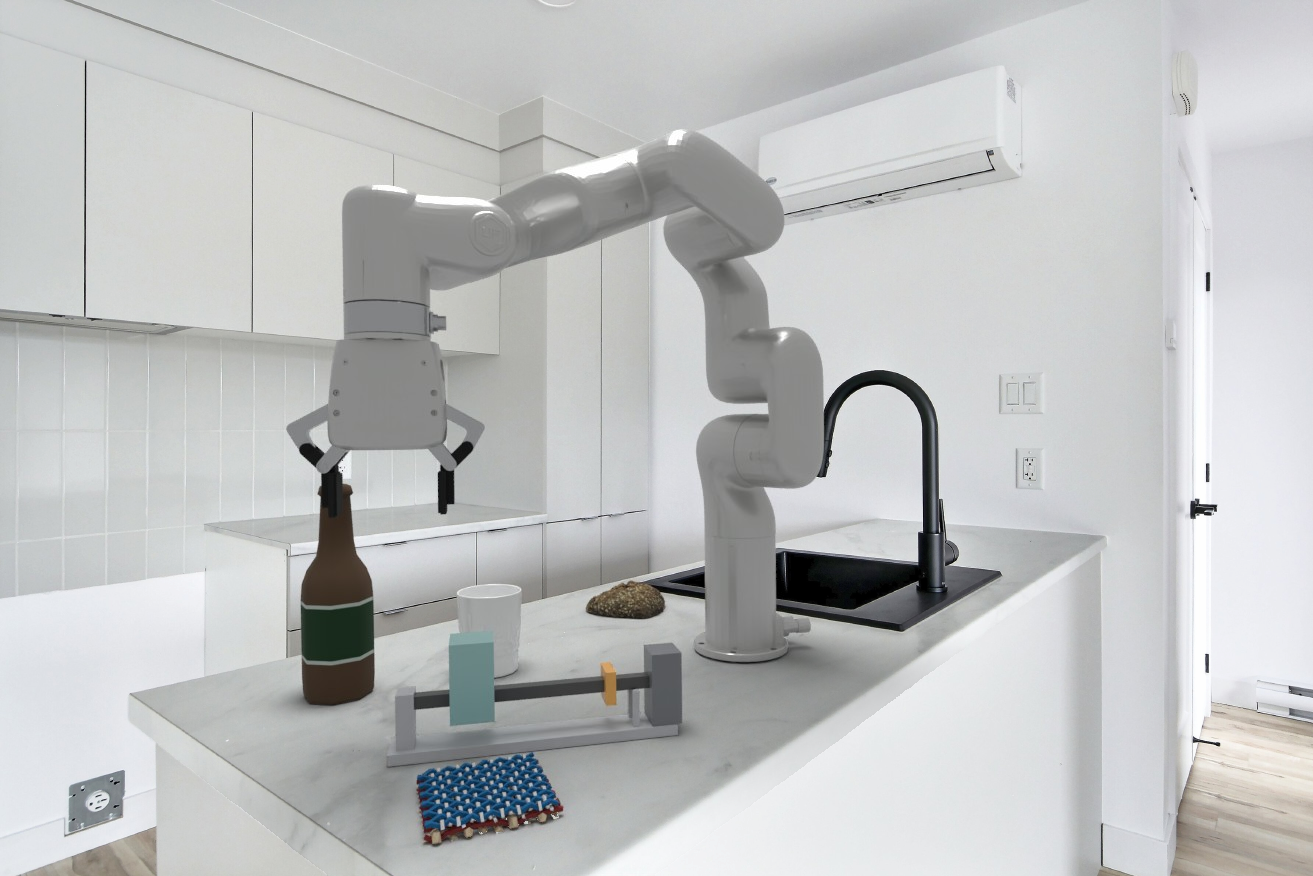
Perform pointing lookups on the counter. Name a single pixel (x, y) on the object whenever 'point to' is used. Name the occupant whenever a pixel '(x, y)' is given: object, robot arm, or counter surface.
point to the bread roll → (628, 601)
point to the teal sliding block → (471, 678)
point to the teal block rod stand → (654, 722)
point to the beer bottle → (337, 615)
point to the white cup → (494, 620)
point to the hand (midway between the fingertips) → (390, 514)
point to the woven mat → (484, 796)
